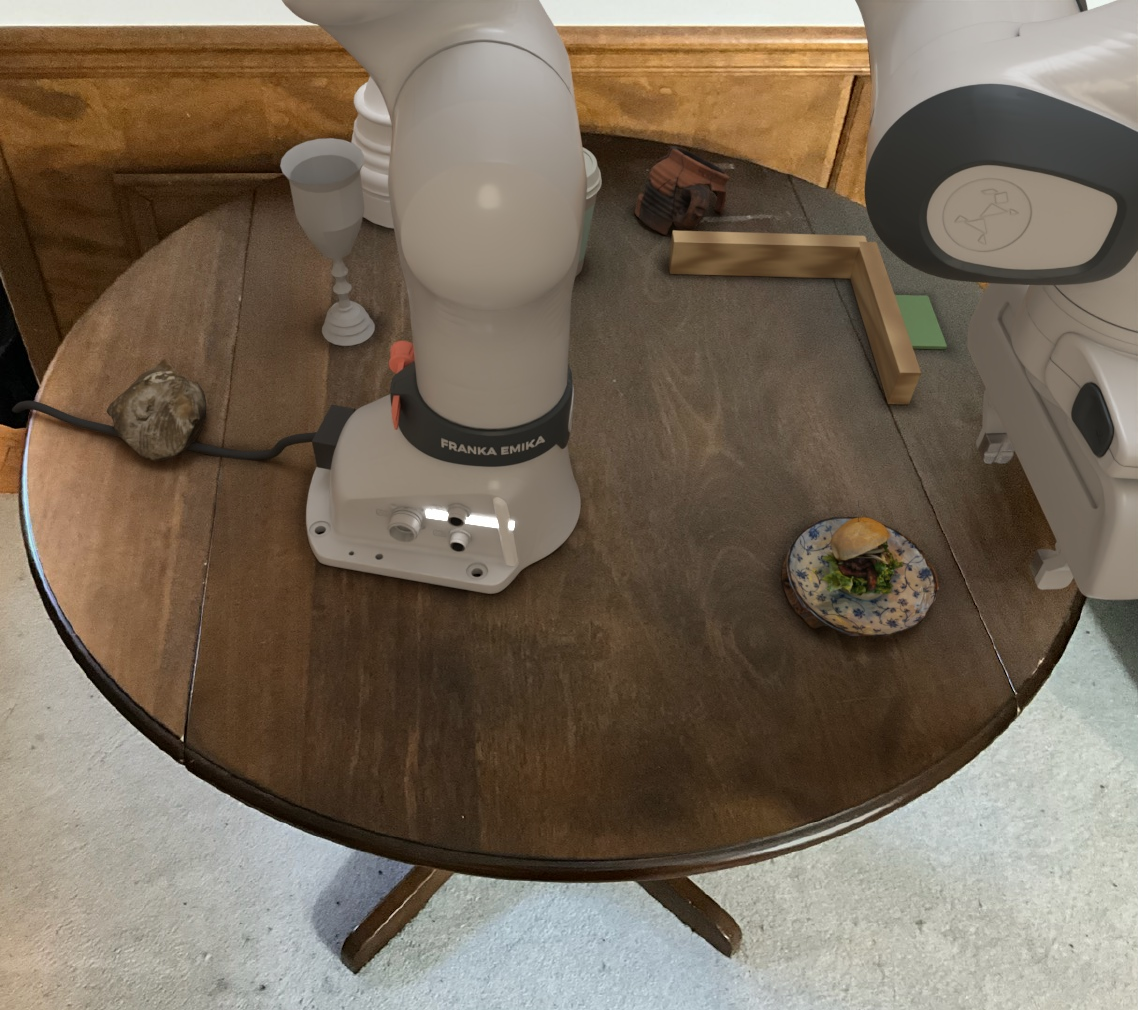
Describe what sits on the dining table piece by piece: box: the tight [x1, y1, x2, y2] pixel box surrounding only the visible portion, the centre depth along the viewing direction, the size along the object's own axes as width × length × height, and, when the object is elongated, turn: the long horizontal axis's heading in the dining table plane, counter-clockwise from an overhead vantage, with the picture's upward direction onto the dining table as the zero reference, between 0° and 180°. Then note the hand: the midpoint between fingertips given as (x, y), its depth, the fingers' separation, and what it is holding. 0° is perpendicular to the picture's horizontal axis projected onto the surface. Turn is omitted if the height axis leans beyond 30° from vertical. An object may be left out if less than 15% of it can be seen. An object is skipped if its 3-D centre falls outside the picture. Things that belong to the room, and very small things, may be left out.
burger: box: [781, 500, 940, 638], centre depth 80 cm, size 12×12×8 cm
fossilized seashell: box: [106, 358, 208, 462], centre depth 89 cm, size 8×7×10 cm
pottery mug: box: [634, 145, 730, 236], centre depth 113 cm, size 12×10×8 cm
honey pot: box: [351, 75, 394, 229], centre depth 109 cm, size 13×13×18 cm
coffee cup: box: [575, 146, 603, 278], centre depth 104 cm, size 8×8×12 cm
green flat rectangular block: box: [894, 294, 948, 350], centre depth 105 cm, size 5×8×1 cm, turn 0°
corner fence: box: [667, 230, 922, 406], centre depth 102 cm, size 21×21×4 cm
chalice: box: [279, 137, 376, 347], centre depth 94 cm, size 7×7×18 cm
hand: (1017, 514), depth 60 cm, fingers open, 8 cm apart
